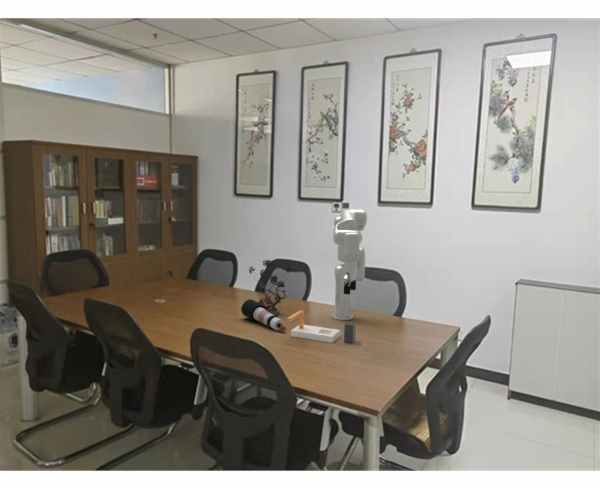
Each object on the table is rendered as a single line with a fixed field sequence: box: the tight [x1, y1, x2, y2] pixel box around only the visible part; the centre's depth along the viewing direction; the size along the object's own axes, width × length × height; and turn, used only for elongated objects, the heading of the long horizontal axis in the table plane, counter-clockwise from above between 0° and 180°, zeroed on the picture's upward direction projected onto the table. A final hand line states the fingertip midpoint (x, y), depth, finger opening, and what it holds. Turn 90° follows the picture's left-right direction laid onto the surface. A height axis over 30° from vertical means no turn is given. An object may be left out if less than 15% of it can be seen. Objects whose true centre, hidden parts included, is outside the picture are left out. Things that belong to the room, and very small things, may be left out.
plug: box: [343, 321, 357, 344], centre depth 230 cm, size 4×4×10 cm
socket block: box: [290, 324, 341, 344], centre depth 237 cm, size 12×22×4 cm, turn 67°
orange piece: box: [286, 309, 305, 328], centre depth 233 cm, size 17×2×9 cm, turn 157°
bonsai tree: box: [248, 259, 293, 316], centre depth 284 cm, size 35×24×32 cm
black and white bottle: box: [240, 299, 287, 332], centre depth 256 cm, size 10×34×10 cm, turn 37°
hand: (349, 291), depth 229 cm, fingers open, 9 cm apart
